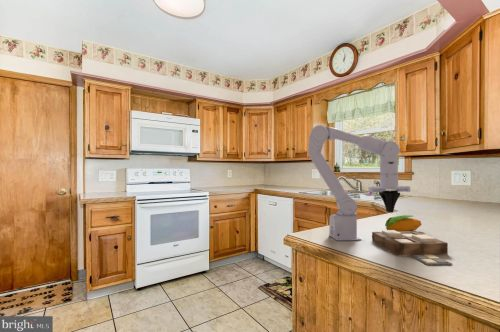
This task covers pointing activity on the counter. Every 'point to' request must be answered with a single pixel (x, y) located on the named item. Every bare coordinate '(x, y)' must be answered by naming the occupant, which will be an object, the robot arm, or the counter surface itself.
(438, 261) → the card
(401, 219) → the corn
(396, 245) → the button board
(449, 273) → the counter surface
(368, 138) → the robot arm
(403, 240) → the button
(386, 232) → the button
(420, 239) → the button
